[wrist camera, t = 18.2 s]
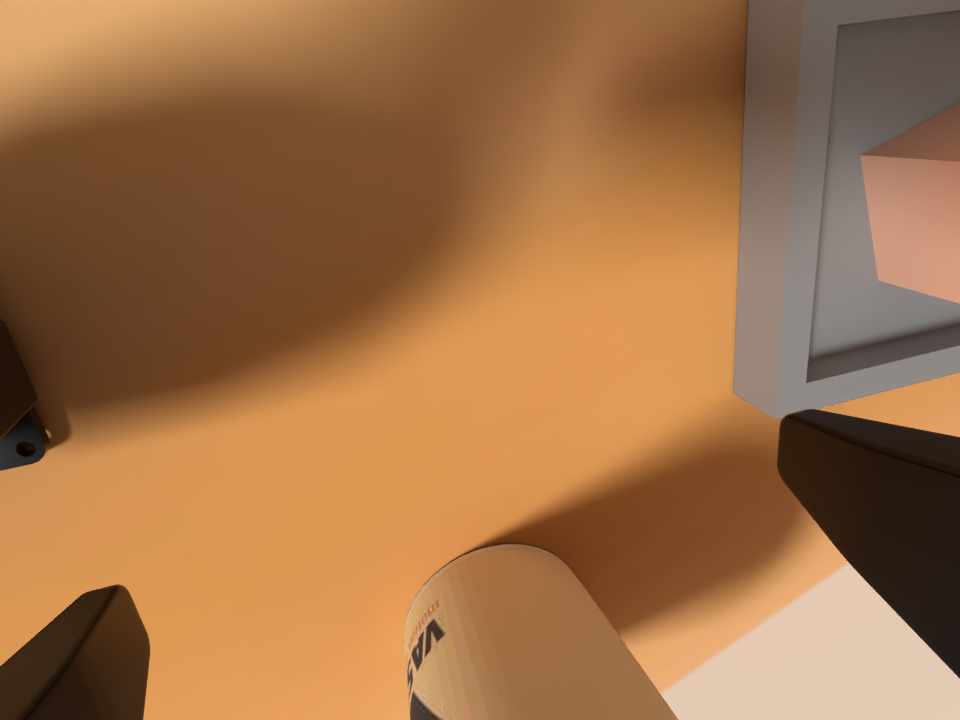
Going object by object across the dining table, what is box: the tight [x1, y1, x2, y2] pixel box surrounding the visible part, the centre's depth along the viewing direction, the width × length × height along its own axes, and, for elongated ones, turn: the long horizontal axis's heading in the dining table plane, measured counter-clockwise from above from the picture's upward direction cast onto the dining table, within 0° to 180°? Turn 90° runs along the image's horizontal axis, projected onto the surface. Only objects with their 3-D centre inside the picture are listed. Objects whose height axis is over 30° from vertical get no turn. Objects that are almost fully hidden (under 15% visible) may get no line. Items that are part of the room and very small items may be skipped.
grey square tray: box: [733, 0, 960, 420], centre depth 23 cm, size 14×14×2 cm
